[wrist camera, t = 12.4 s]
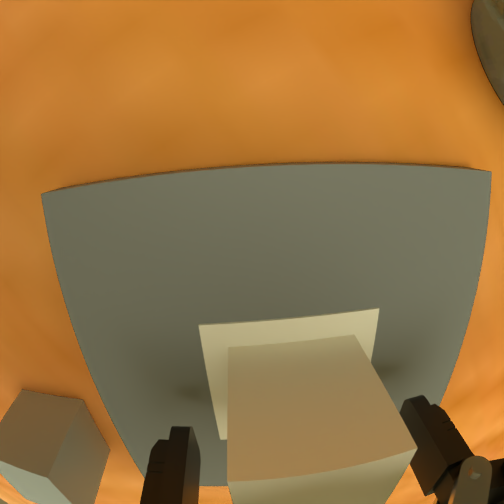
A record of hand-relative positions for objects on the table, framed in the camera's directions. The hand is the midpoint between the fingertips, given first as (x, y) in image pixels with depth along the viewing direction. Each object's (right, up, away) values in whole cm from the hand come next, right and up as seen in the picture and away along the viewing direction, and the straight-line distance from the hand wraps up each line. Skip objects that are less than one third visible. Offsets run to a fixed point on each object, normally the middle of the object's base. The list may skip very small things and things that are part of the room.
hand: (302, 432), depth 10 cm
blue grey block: (-14, -4, +5) cm, 16 cm away
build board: (0, +1, +4) cm, 4 cm away
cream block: (0, +1, +3) cm, 3 cm away
